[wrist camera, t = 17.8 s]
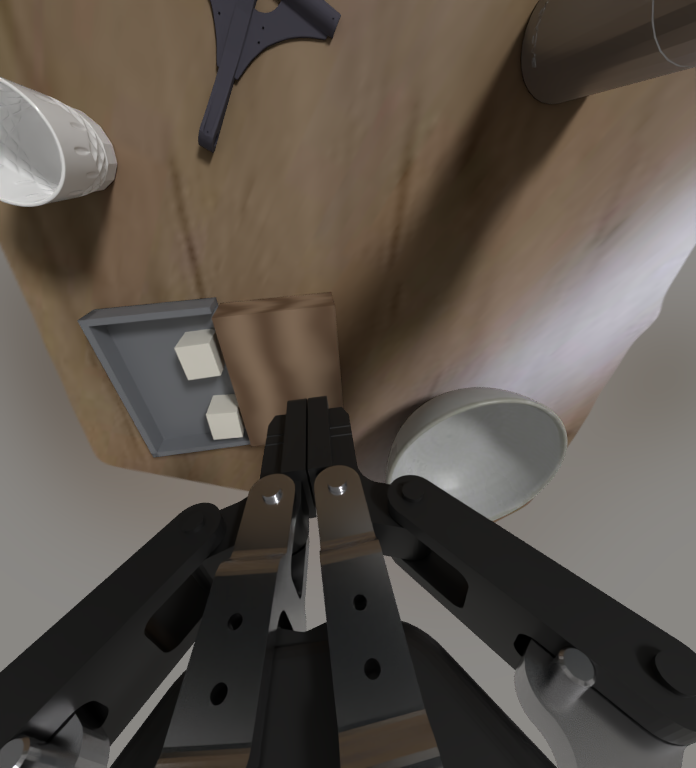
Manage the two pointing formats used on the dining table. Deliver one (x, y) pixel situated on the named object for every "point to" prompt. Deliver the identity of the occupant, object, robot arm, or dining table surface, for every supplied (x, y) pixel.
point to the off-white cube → (225, 417)
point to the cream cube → (200, 354)
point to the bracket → (255, 45)
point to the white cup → (49, 149)
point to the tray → (160, 372)
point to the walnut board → (279, 355)
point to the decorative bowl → (481, 448)
